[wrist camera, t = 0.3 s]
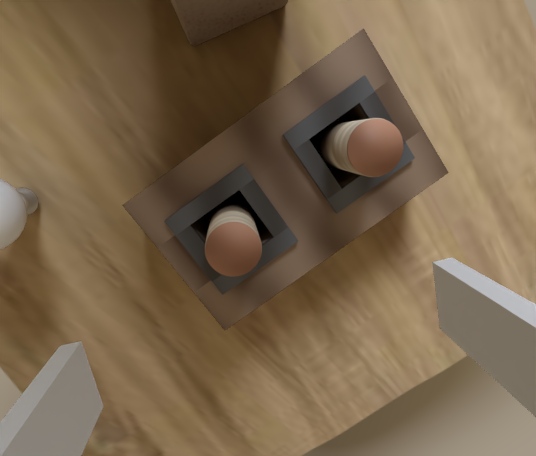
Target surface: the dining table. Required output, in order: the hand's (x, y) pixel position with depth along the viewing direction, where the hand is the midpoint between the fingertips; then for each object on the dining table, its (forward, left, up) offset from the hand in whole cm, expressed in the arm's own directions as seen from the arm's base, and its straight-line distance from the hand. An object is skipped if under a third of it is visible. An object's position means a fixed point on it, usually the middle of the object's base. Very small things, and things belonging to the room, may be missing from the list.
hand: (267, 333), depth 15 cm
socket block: (-3, +4, -29) cm, 29 cm away
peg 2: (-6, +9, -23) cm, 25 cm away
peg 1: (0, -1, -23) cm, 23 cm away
